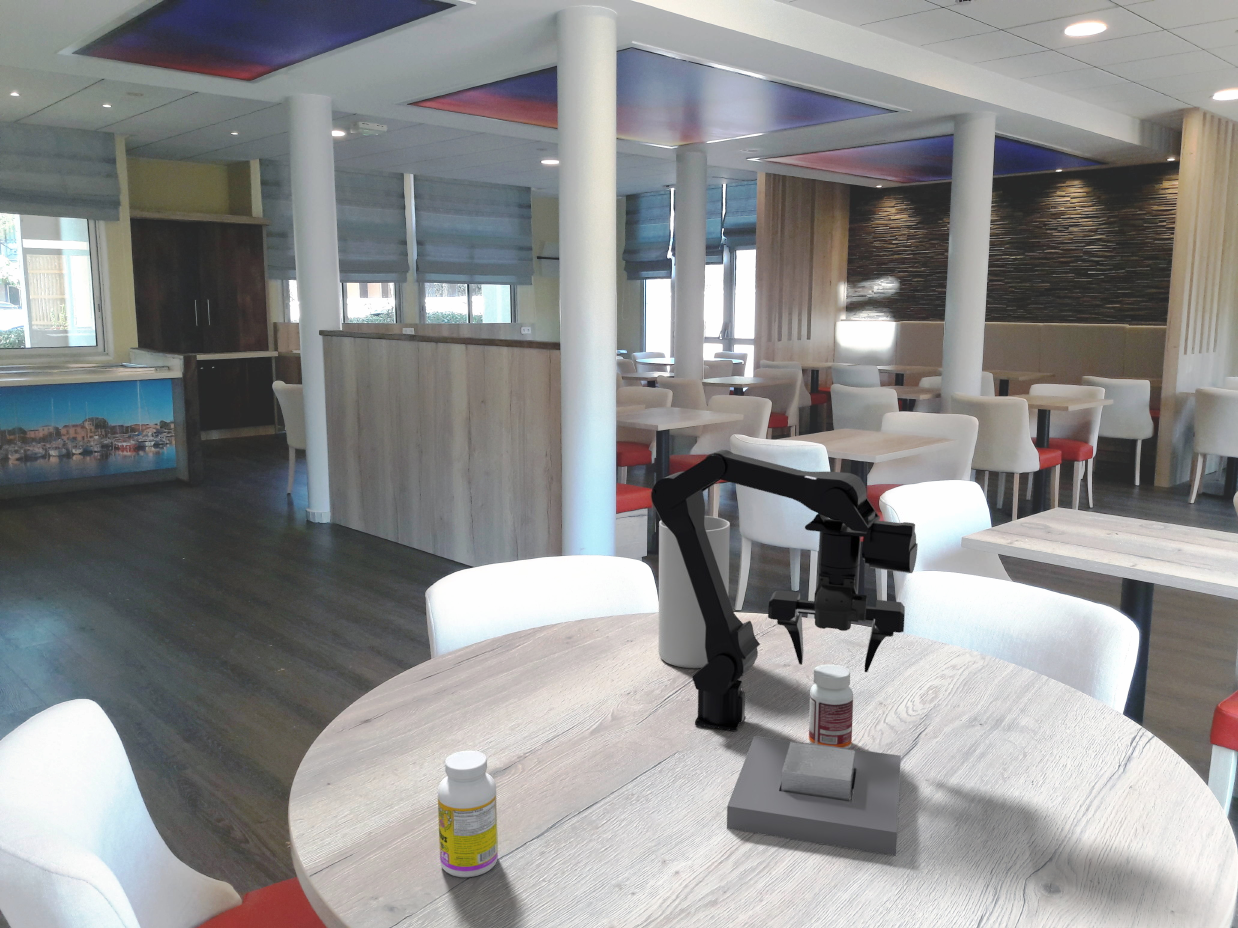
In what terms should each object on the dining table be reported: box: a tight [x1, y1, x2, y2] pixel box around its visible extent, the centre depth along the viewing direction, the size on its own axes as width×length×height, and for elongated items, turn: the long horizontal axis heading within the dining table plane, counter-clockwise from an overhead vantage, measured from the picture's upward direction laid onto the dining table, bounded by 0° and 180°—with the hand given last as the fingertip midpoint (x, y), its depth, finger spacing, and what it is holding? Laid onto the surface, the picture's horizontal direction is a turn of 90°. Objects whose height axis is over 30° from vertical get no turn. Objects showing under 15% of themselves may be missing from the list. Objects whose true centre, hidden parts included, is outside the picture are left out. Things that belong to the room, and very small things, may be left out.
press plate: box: [726, 735, 902, 857], centre depth 124 cm, size 20×20×3 cm
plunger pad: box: [781, 742, 855, 802], centre depth 124 cm, size 8×8×3 cm
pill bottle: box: [808, 663, 854, 749], centre depth 139 cm, size 6×6×11 cm
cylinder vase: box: [657, 515, 731, 669], centre depth 172 cm, size 12×12×25 cm
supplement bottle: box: [437, 750, 499, 878], centre depth 110 cm, size 7×7×13 cm
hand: (833, 667), depth 138 cm, fingers open, 9 cm apart
